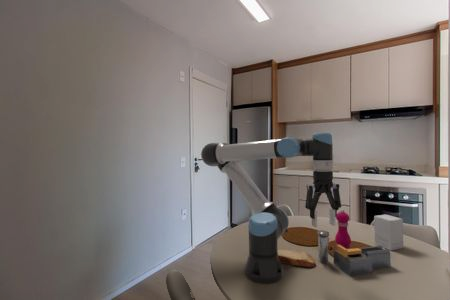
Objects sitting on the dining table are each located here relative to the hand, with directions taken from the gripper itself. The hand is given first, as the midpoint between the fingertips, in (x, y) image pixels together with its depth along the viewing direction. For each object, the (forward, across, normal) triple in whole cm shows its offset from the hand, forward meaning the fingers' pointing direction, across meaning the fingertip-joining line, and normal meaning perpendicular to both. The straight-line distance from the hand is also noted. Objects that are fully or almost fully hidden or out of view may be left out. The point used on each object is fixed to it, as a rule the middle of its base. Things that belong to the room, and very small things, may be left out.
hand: (323, 225), depth 92 cm
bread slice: (+20, -9, +12) cm, 25 cm away
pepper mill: (+19, +22, +17) cm, 34 cm away
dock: (+19, +19, 0) cm, 27 cm away
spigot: (+19, +5, +8) cm, 21 cm away
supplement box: (+19, +47, +15) cm, 53 cm away
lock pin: (+13, +12, 0) cm, 18 cm away
